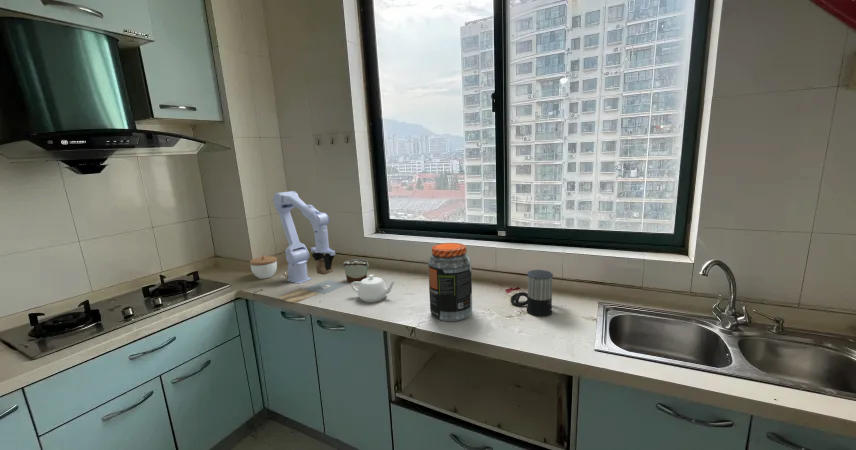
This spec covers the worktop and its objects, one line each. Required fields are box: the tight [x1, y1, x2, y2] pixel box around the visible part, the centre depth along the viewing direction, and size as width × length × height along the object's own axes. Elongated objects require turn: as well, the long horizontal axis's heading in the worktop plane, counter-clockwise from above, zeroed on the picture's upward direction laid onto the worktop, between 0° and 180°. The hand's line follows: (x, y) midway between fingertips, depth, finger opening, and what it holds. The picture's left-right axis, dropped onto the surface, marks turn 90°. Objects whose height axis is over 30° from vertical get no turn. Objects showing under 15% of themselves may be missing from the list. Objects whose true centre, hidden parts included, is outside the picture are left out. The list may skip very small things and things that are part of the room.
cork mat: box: [277, 288, 319, 305], centre depth 158 cm, size 12×12×1 cm
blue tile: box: [304, 279, 348, 295], centre depth 168 cm, size 14×14×1 cm
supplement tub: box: [427, 242, 473, 322], centre depth 133 cm, size 16×16×26 cm
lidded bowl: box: [249, 255, 278, 280], centre depth 186 cm, size 13×13×11 cm
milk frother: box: [510, 269, 554, 317], centre depth 136 cm, size 14×16×15 cm
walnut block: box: [315, 259, 334, 276], centre depth 166 cm, size 5×5×6 cm
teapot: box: [350, 274, 396, 303], centre depth 152 cm, size 20×12×10 cm, turn 76°
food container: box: [342, 258, 369, 283], centre depth 175 cm, size 12×6×10 cm, turn 84°
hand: (324, 268), depth 167 cm, fingers closed on walnut block, 5 cm apart
